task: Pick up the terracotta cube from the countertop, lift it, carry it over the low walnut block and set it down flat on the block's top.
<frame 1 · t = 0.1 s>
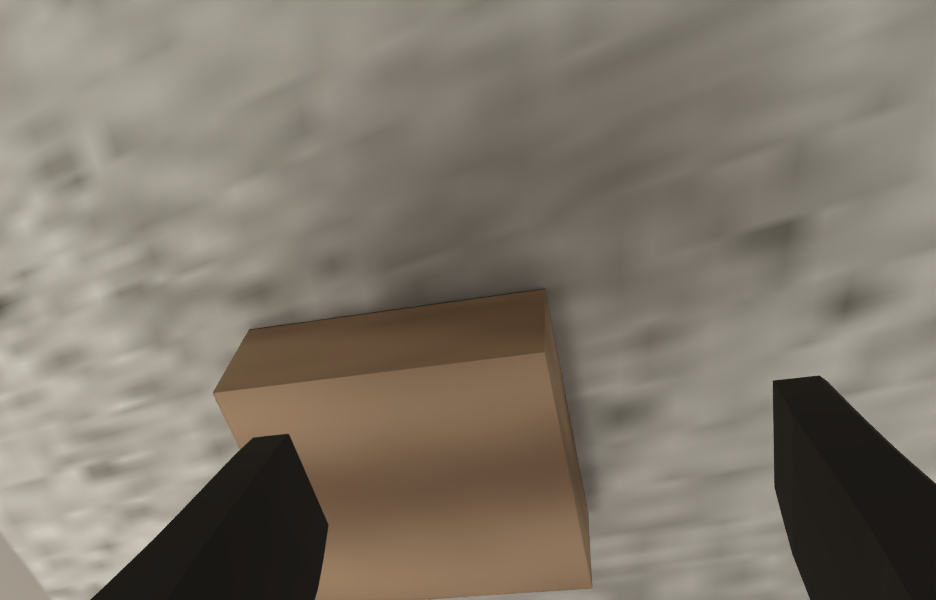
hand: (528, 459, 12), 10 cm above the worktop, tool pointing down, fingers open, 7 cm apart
walnut block: (428, 427, 25), on the worktop
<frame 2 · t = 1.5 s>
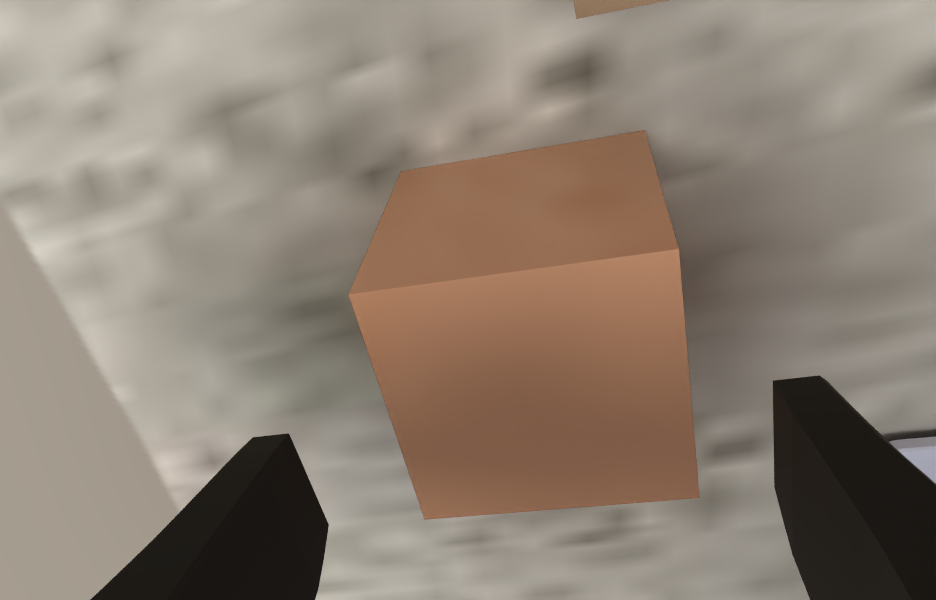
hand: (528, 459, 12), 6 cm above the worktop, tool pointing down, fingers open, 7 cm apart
terracotta cube: (539, 256, 17), on the worktop
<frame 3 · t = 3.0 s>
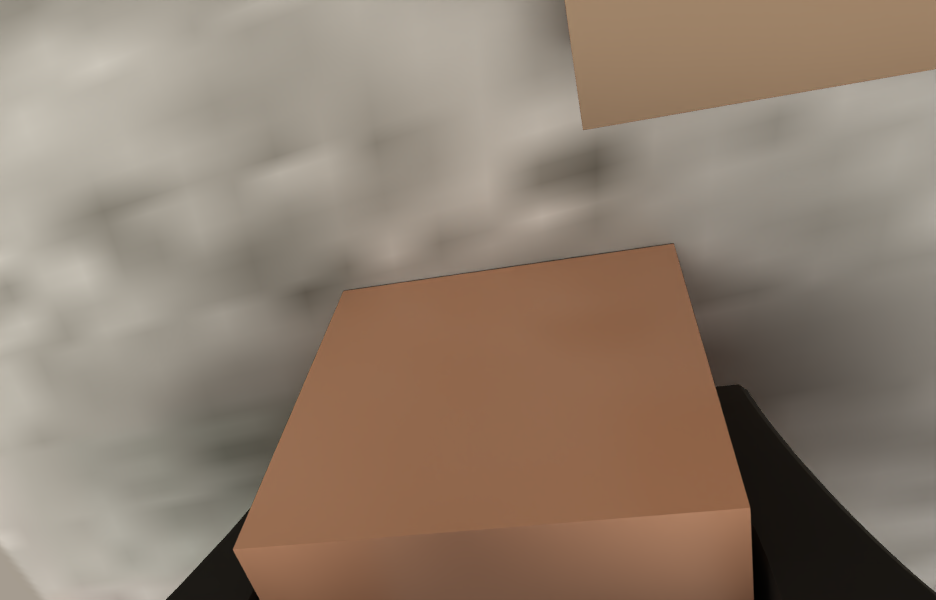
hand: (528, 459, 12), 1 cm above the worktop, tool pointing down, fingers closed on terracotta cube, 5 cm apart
terracotta cube: (530, 398, 13), on the worktop, touching gripper
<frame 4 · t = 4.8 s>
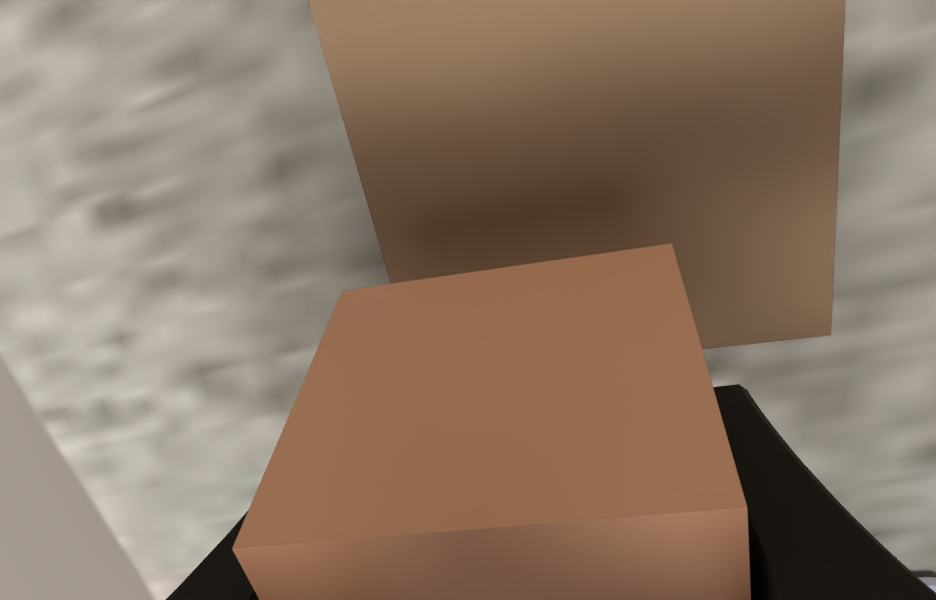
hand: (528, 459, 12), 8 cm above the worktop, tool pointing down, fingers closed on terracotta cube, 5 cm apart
terracotta cube: (529, 397, 13), point 7 cm above the worktop, touching gripper
walnut block: (585, 119, 17), on the worktop
when the fingers open (5 cm above the worktop, at t = 6.6 s): terracotta cube stays where it is, resting on walnut block.
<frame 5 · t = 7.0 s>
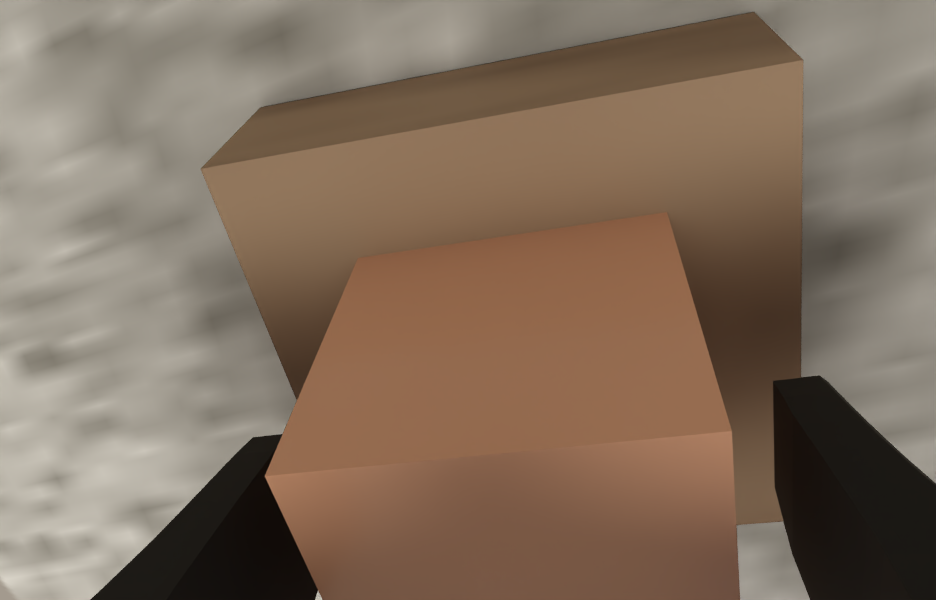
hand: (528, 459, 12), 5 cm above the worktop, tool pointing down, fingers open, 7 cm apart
terracotta cube: (532, 361, 14), point 3 cm above the worktop, touching walnut block
walnut block: (534, 276, 16), on the worktop
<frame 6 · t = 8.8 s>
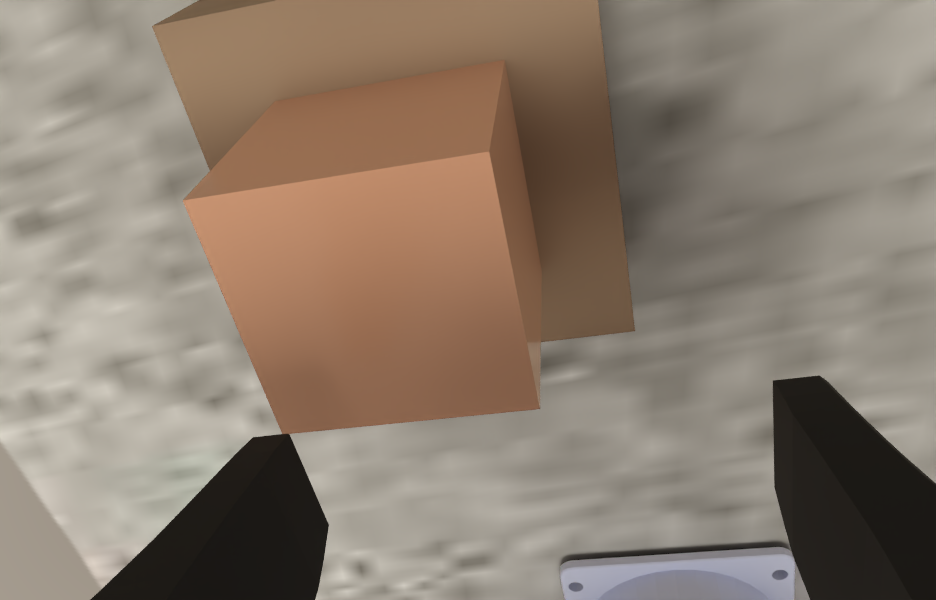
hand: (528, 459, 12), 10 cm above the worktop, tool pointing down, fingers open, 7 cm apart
terracotta cube: (414, 190, 17), point 3 cm above the worktop, touching walnut block
walnut block: (430, 143, 20), on the worktop
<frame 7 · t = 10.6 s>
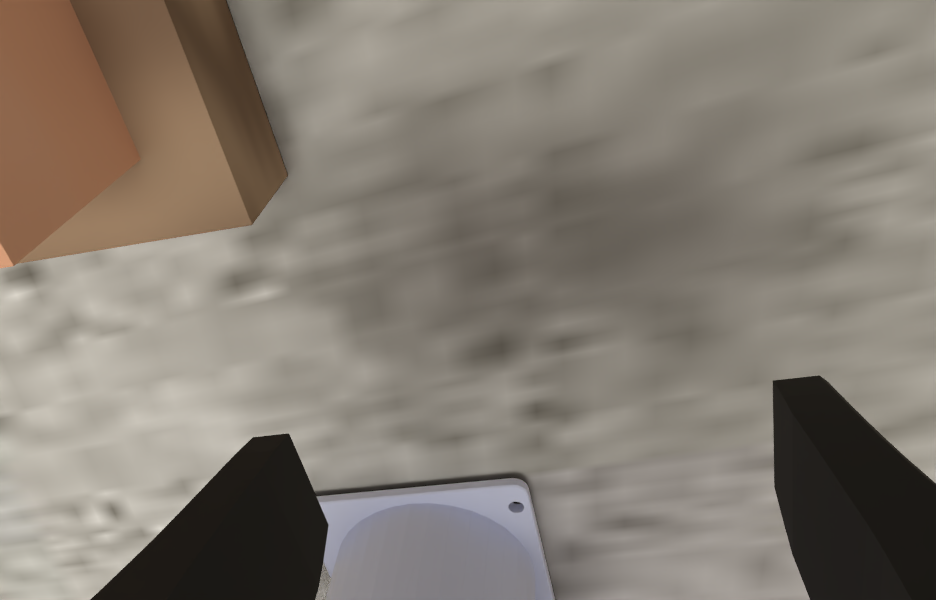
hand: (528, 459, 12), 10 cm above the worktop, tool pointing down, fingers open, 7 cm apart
walnut block: (62, 40, 20), on the worktop
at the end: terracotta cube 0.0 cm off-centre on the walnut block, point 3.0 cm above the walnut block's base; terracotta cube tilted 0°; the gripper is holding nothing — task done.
